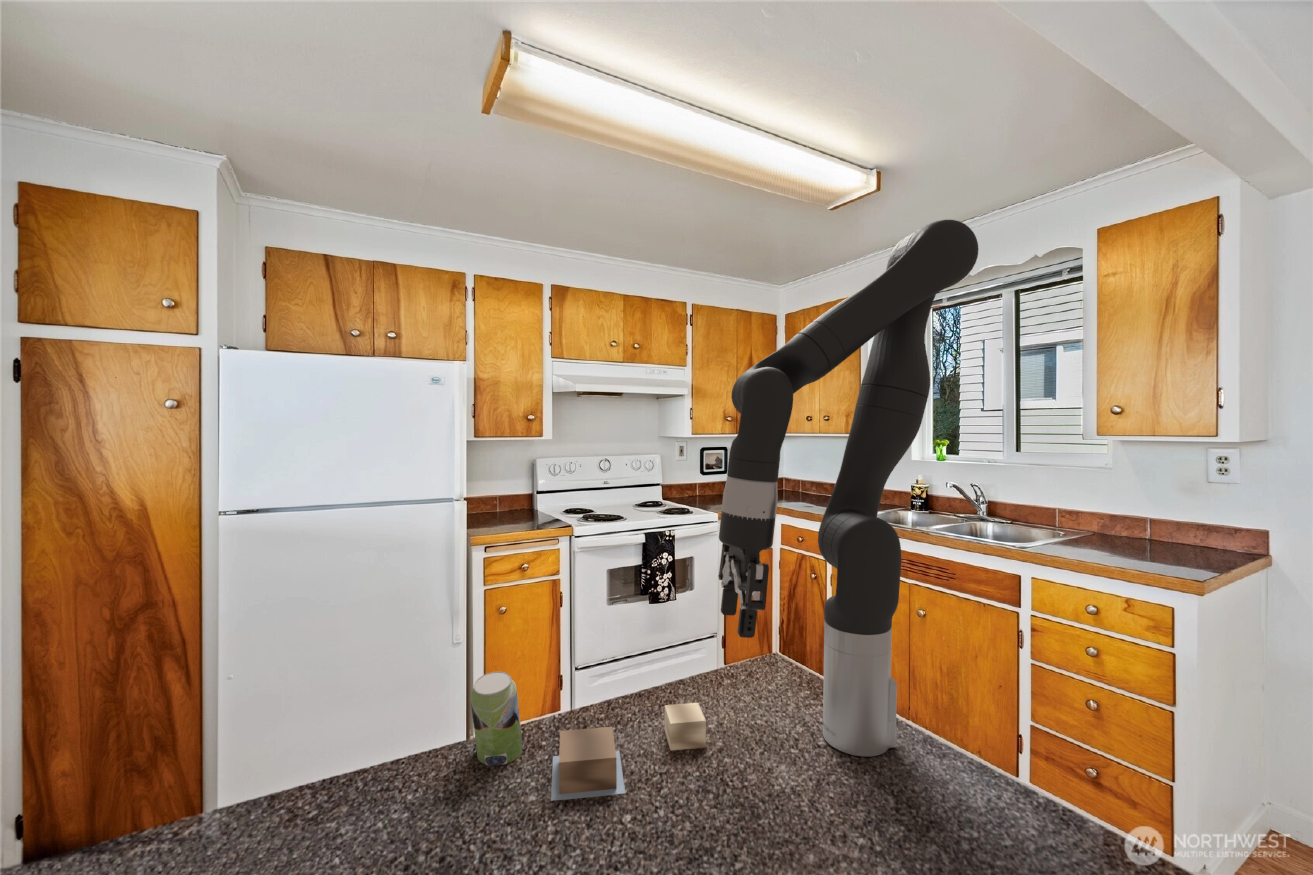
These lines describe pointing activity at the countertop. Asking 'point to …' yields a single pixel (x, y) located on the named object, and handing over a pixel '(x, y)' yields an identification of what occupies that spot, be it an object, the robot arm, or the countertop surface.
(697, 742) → the maple cube
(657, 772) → the countertop surface
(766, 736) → the countertop surface
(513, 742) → the beverage can
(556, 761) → the board
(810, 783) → the countertop surface
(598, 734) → the walnut block
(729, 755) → the countertop surface
